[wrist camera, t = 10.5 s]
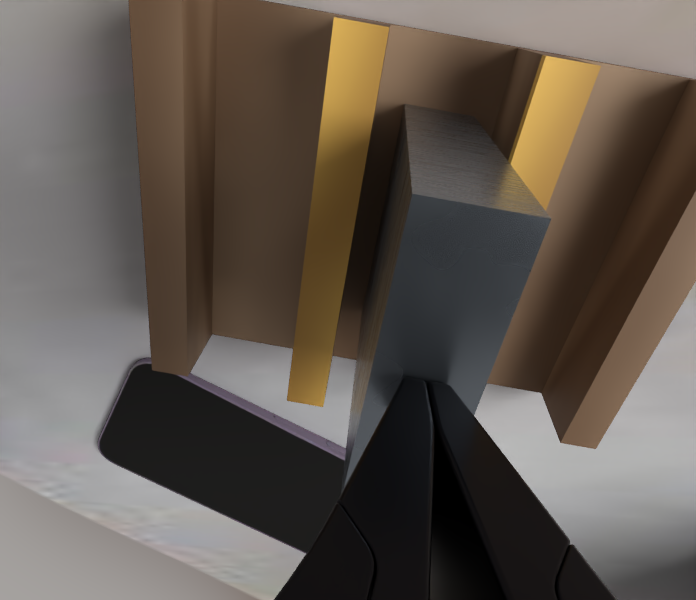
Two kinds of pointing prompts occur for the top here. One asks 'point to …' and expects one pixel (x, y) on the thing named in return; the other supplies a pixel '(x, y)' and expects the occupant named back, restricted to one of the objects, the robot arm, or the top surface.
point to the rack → (372, 181)
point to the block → (441, 267)
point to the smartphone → (224, 454)
